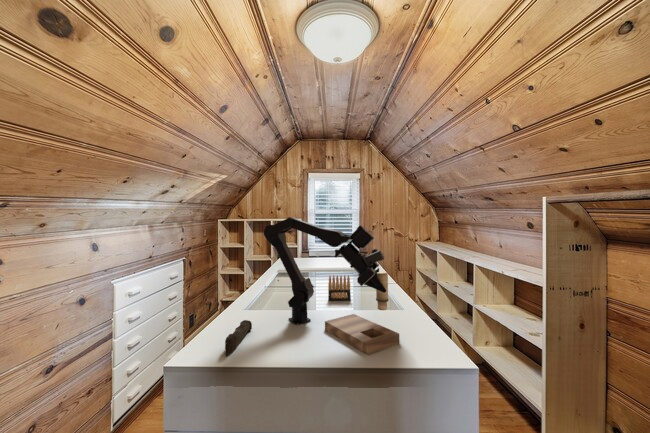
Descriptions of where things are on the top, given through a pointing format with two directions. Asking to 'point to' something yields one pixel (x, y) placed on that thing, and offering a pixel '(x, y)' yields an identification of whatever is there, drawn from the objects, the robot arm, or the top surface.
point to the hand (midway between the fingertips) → (386, 290)
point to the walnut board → (362, 333)
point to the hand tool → (237, 336)
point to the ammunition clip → (339, 289)
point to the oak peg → (382, 296)
